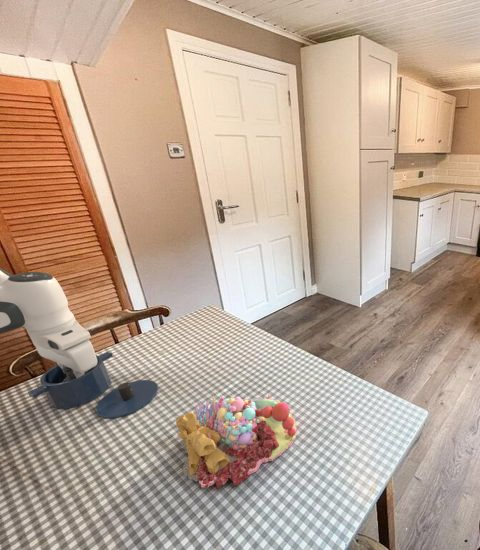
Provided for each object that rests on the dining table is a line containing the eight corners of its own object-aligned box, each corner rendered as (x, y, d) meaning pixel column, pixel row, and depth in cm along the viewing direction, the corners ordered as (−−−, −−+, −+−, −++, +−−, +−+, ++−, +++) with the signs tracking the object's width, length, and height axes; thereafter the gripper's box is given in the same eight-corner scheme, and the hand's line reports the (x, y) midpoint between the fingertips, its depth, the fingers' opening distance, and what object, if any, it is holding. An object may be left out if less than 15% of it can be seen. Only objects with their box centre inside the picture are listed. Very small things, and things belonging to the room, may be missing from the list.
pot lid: (85, 411, 80) (78, 396, 78) (138, 378, 92) (132, 364, 90) (119, 427, 75) (112, 411, 73) (169, 390, 87) (165, 375, 85)
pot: (29, 410, 80) (15, 385, 77) (104, 368, 96) (95, 346, 93) (56, 424, 76) (43, 398, 73) (131, 378, 92) (122, 355, 88)
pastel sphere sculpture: (208, 516, 57) (198, 483, 53) (164, 443, 71) (154, 413, 67) (312, 430, 74) (309, 401, 71) (260, 385, 88) (255, 359, 85)
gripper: (17, 330, 79) (39, 372, 84) (63, 347, 72) (83, 392, 77) (48, 318, 85) (66, 359, 90) (93, 333, 78) (110, 376, 83)
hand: (75, 374), depth 83 cm, fingers closed on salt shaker, 3 cm apart
